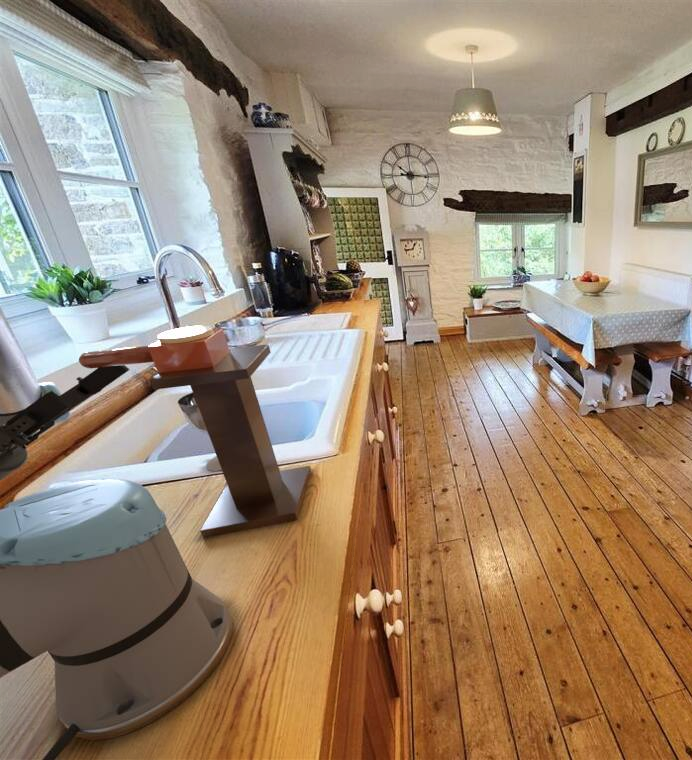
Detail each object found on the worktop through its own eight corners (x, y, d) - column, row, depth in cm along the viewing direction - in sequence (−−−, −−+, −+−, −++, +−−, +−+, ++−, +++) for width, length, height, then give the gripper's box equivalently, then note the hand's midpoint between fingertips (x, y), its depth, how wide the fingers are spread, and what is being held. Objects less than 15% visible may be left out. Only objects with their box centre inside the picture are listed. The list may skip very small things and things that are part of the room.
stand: (202, 537, 65) (136, 383, 55) (232, 485, 78) (183, 351, 67) (297, 519, 68) (251, 370, 58) (311, 471, 81) (276, 341, 70)
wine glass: (256, 450, 89) (235, 387, 83) (230, 472, 82) (205, 405, 76) (222, 449, 90) (199, 387, 84) (193, 471, 82) (166, 405, 76)
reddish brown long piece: (70, 383, 56) (53, 350, 54) (102, 365, 62) (88, 335, 60) (213, 367, 60) (202, 335, 58) (230, 352, 66) (221, 323, 64)
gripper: (61, 438, 72) (159, 369, 72) (-84, 540, 50) (57, 440, 50) (16, 408, 69) (119, 336, 69) (-161, 503, 47) (-9, 396, 47)
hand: (93, 379), depth 59 cm, fingers open, 13 cm apart
